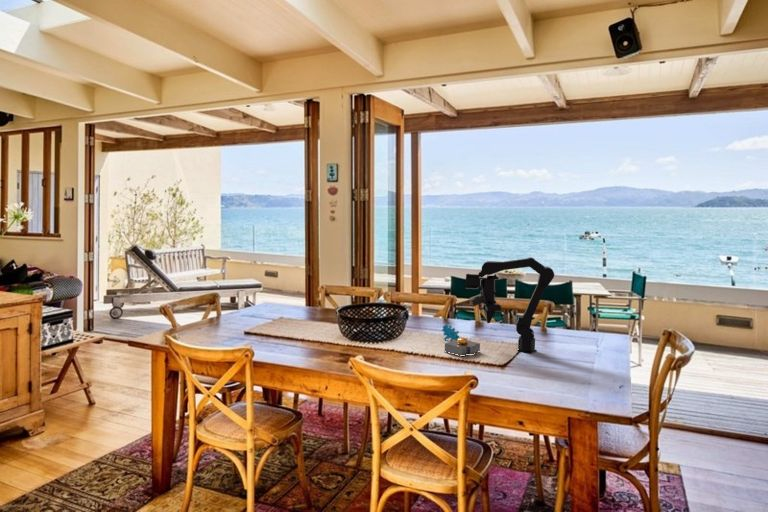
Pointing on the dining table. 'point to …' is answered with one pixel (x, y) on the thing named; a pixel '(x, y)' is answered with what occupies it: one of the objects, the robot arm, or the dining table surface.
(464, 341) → the pin
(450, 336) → the blue lobed piece
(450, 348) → the block
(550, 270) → the robot arm
